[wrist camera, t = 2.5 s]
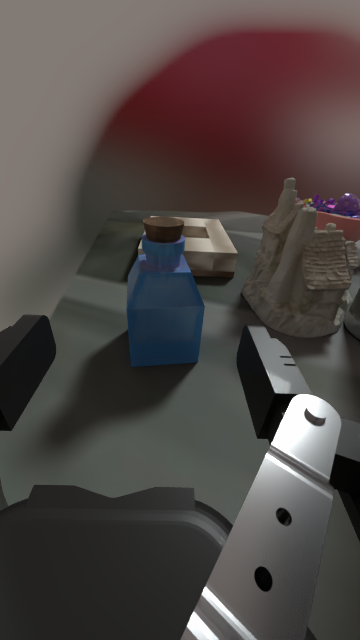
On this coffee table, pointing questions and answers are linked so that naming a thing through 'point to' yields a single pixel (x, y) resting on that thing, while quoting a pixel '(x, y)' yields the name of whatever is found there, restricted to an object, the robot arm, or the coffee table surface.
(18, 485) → the coffee table surface
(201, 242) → the socket plinth
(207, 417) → the coffee table surface
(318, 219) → the cell model
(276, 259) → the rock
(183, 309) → the perfume bottle
